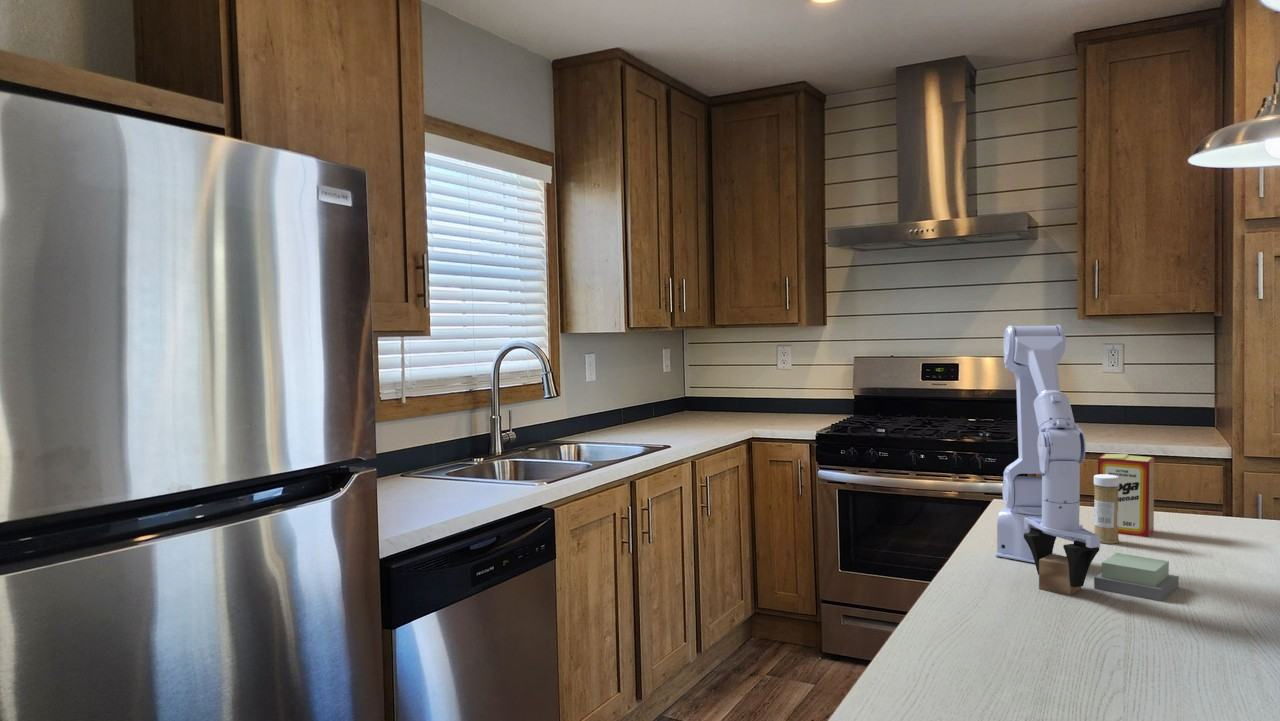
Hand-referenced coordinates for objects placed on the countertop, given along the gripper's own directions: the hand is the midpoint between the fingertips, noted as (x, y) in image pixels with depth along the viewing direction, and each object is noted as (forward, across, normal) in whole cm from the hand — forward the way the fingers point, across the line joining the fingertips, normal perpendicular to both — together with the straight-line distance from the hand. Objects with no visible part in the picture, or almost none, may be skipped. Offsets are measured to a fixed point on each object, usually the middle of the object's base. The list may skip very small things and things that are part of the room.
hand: (1060, 580), depth 149 cm
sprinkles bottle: (+2, +21, -32) cm, 38 cm away
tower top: (0, -4, -12) cm, 13 cm away
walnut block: (+1, 0, 0) cm, 1 cm away
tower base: (+2, -4, -12) cm, 13 cm away
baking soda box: (+2, +26, -43) cm, 50 cm away
